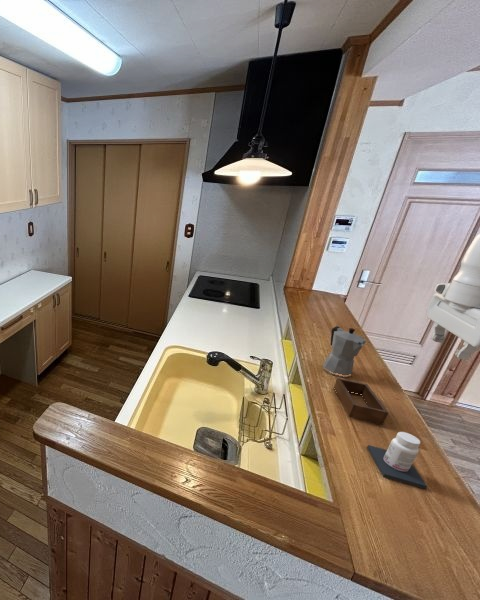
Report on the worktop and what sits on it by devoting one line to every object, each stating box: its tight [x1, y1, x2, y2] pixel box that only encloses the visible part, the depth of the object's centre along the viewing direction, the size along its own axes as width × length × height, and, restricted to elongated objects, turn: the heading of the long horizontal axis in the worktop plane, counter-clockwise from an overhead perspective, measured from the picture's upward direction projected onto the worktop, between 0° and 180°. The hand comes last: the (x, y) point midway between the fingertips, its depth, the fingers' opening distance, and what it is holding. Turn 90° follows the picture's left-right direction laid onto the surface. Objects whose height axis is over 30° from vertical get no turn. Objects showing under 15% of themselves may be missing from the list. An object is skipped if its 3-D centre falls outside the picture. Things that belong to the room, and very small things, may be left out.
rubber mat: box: [366, 444, 428, 490], centre depth 81 cm, size 8×10×1 cm
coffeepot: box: [321, 325, 367, 379], centre depth 121 cm, size 15×9×18 cm, turn 174°
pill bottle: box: [384, 431, 421, 472], centre depth 79 cm, size 5×5×8 cm
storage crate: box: [333, 377, 389, 426], centre depth 103 cm, size 8×16×4 cm, turn 158°
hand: (447, 349), depth 79 cm, fingers open, 8 cm apart
